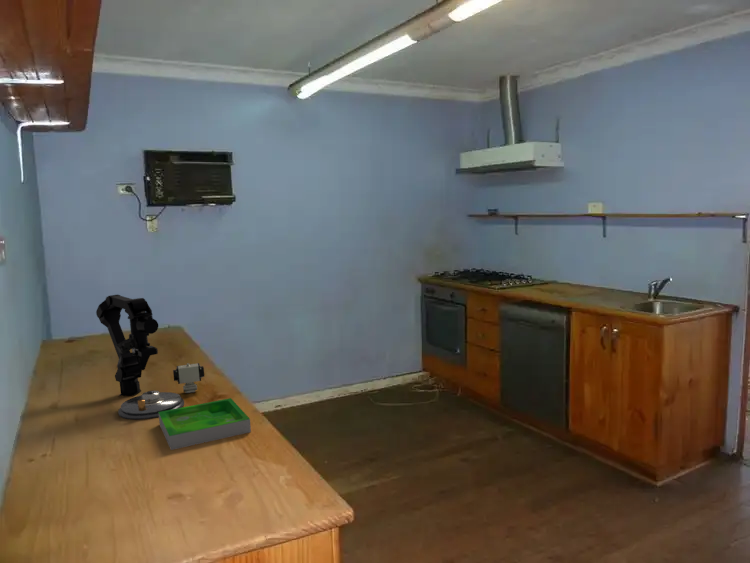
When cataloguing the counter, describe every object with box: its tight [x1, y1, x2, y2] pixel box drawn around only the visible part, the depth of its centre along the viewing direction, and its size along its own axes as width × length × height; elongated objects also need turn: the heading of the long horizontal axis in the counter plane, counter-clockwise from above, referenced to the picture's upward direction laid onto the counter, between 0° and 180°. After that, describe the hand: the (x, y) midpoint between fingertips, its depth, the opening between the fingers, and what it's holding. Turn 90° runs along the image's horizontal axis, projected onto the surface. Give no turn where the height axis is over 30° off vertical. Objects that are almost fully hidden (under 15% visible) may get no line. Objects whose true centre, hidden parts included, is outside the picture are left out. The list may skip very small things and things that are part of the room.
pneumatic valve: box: [172, 362, 205, 394], centre depth 231 cm, size 6×12×12 cm, turn 110°
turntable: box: [120, 391, 182, 415], centre depth 213 cm, size 21×21×5 cm
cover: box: [141, 390, 160, 404], centre depth 212 cm, size 6×6×4 cm
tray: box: [158, 397, 252, 451], centre depth 191 cm, size 25×25×5 cm
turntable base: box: [117, 397, 185, 421], centre depth 213 cm, size 23×23×1 cm
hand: (142, 369), depth 222 cm, fingers closed
